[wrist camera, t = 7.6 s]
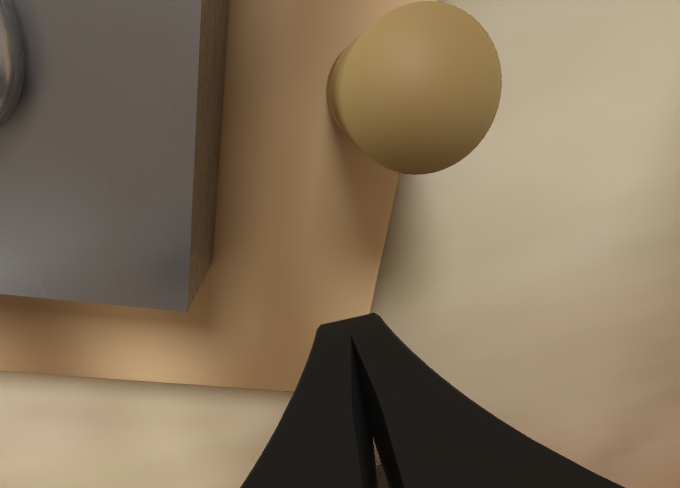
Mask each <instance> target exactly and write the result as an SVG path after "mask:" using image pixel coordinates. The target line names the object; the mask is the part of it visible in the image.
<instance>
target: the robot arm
mask: <svg viewBox="0 0 680 488" xmlns="http://www.w3.org/2000/svg"><path fill="white" fill-rule="evenodd" d="M372 435H373V436H372ZM373 438H374V441H375V444H376V448H377V451H378V454H379V457H380V460H381V463H382V467H383V470H384V473H385V476H386V479H387V482H388V485H389V488H625V487H622V486H620V485H618V484H616V483H614V482H612V481H610V480H608V479H606V478H603V477H601V476H599V475H597V474H595V473H593V472H591V471H590V470H588V469H586V468H584V467H582V466H580V465H578V464H577V463H575V462H573V461H571V460H569V459H567V458H565V457H564V456H562V455H560V454H558V453H556V452H554V451H553V450H551V449H549V448H547V447H545V446H543V445H542V444H540V443H538V442H536V441H534V440H532V439H531V438H529V437H527V436H526V435H524V434H522V433H521V432H519V431H518V430H516V429H514V428H513V427H511V426H509V425H508V424H506V423H505V422H503V421H501V420H500V419H498V418H497V417H495V416H494V415H492V414H491V413H489V412H488V411H486V410H485V409H483V408H482V407H481V406H479V405H478V404H476V403H475V402H473V401H472V400H471V399H469V398H468V397H467V396H465V395H464V394H463V393H461V392H460V391H458V390H457V389H456V388H455V387H453V386H452V385H451V384H450V383H448V382H447V381H446V380H445V379H443V378H442V377H441V376H440V375H438V374H437V373H436V372H435V371H434V370H432V369H431V368H430V367H429V366H428V365H427V364H426V363H424V362H423V361H422V360H421V359H420V358H419V357H418V356H417V355H416V354H414V353H413V352H412V351H411V350H410V349H409V348H408V347H407V346H406V345H405V344H404V343H403V342H402V341H401V340H400V339H399V338H398V337H397V336H396V335H395V334H394V333H393V332H392V330H391V329H390V328H389V327H388V326H387V325H386V324H385V322H384V321H383V320H382V318H381V317H380V316H379V315H377V314H375V313H371V314H367V315H362V316H358V317H353V318H349V319H344V320H339V321H335V322H330V323H326V324H321V325H320V326H319V327H318V329H317V330H316V335H315V339H314V342H313V345H312V348H311V351H310V354H309V357H308V360H307V363H306V365H305V368H304V370H303V372H302V375H301V377H300V380H299V382H298V384H297V387H296V389H295V391H294V394H293V396H292V398H291V400H290V402H289V404H288V406H287V408H286V410H285V412H284V414H283V416H282V418H281V420H280V422H279V424H278V426H277V428H276V430H275V432H274V433H273V435H272V437H271V439H270V440H269V442H268V444H267V446H266V447H265V449H264V451H263V453H262V454H261V456H260V458H259V459H258V461H257V462H256V464H255V466H254V467H253V469H252V471H251V472H250V474H249V475H248V477H247V478H246V480H245V481H244V483H243V484H242V486H241V487H240V488H378V479H377V470H376V462H375V453H374V445H373Z"/></svg>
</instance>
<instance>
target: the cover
mask: <svg viewBox="0 0 680 488" xmlns="http://www.w3.org/2000/svg"><path fill="white" fill-rule="evenodd" d="M229 6H230V0H0V294H6V295H16V296H26V297H37V298H47V299H57V300H68V301H78V302H88V303H99V304H109V305H119V306H130V307H140V308H150V309H161V310H171V311H181V312H188V310H189V308H190V306H191V304H192V302H193V300H194V298H195V296H196V294H197V292H198V290H199V288H200V286H201V284H202V282H203V280H204V278H205V276H206V274H207V272H208V270H209V268H210V266H211V264H212V262H213V247H214V232H215V217H216V202H217V187H218V172H219V157H220V141H221V126H222V111H223V96H224V81H225V66H226V51H227V36H228V21H229Z"/></svg>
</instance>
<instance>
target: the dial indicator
mask: <svg viewBox="0 0 680 488" xmlns="http://www.w3.org/2000/svg"><path fill="white" fill-rule="evenodd" d="M376 470H377V479H378V488H389V485H388V482H387V479H386V476H385V473H384V470H383V467H382V464H381V465H380V466H379V467H378V468H377V469H376Z"/></svg>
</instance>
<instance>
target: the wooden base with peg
mask: <svg viewBox="0 0 680 488" xmlns="http://www.w3.org/2000/svg"><path fill="white" fill-rule="evenodd" d="M501 86H502V80H501V68H500V62H499V58H498V54H497V51H496V49H495V46H494V44H493V42H492V40H491V38H490V37H489V35H488V33H487V32H486V31H485V29H484V28H483V27H482V26H481V24H480V23H479V22H478V21H476V20H475V19H474V18H473V17H472V16H471V15H469V14H468V13H466V12H465V11H463V10H461V9H459V8H457V7H455V6H453V5H449V4H446V3H442V2H437V0H230V6H229V21H228V36H227V51H226V66H225V81H224V96H223V111H222V126H221V141H220V157H219V172H218V187H217V202H216V217H215V232H214V247H213V262H212V264H211V266H210V268H209V270H208V272H207V274H206V276H205V278H204V280H203V282H202V284H201V286H200V288H199V290H198V292H197V294H196V296H195V298H194V300H193V302H192V304H191V306H190V308H189V310H188V312H181V311H171V310H161V309H150V308H140V307H130V306H119V305H109V304H99V303H88V302H78V301H68V300H57V299H47V298H37V297H26V296H16V295H6V294H0V371H10V372H24V373H38V374H52V375H66V376H80V377H94V378H108V379H123V380H137V381H151V382H165V383H179V384H193V385H207V386H221V387H236V388H250V389H264V390H278V391H292V392H294V391H295V389H296V387H297V384H298V382H299V380H300V377H301V375H302V372H303V370H304V368H305V365H306V363H307V360H308V357H309V354H310V351H311V348H312V345H313V342H314V339H315V335H316V330H317V329H318V327H319V326H320V325H321V324H326V323H330V322H335V321H339V320H344V319H349V318H353V317H358V316H362V315H367V314H369V313H370V309H371V304H372V300H373V295H374V290H375V286H376V281H377V277H378V272H379V267H380V263H381V258H382V253H383V249H384V244H385V240H386V235H387V230H388V226H389V221H390V217H391V212H392V207H393V203H394V198H395V194H396V189H397V184H398V180H399V175H400V173H404V174H414V175H416V174H428V173H433V172H437V171H440V170H443V169H445V168H448V167H450V166H452V165H454V164H455V163H457V162H459V161H460V160H462V159H463V158H464V157H466V156H467V155H468V154H469V153H470V152H471V151H472V150H473V149H474V148H475V147H476V146H477V145H478V144H479V143H480V142H481V140H482V139H483V138H484V136H485V135H486V133H487V131H488V130H489V128H490V126H491V124H492V122H493V120H494V118H495V115H496V112H497V109H498V105H499V101H500V96H501Z"/></svg>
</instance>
